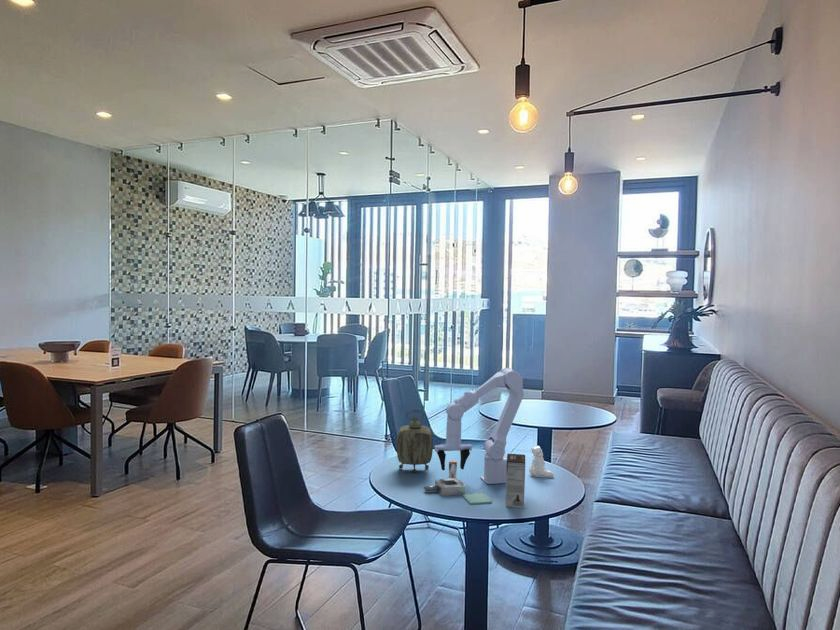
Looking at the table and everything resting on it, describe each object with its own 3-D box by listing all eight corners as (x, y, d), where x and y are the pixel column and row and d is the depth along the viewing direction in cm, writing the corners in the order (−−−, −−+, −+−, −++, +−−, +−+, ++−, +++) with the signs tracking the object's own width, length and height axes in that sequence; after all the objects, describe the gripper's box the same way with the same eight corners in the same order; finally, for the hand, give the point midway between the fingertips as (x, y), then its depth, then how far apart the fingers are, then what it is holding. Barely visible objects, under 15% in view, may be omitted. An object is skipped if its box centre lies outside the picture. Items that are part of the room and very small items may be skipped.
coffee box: (505, 497, 195) (507, 452, 194) (523, 498, 193) (525, 454, 193) (505, 506, 186) (506, 460, 185) (524, 508, 184) (525, 461, 184)
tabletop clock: (431, 467, 226) (432, 408, 225) (432, 475, 217) (434, 412, 216) (396, 467, 225) (397, 407, 224) (396, 474, 216) (397, 412, 215)
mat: (483, 494, 196) (484, 493, 196) (492, 503, 189) (492, 501, 189) (462, 496, 194) (462, 494, 194) (470, 504, 187) (470, 502, 187)
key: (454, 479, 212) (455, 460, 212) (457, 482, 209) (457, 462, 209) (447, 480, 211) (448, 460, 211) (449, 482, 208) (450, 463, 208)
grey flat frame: (457, 485, 205) (458, 478, 205) (465, 494, 196) (465, 486, 196) (421, 487, 202) (422, 480, 202) (428, 496, 193) (428, 488, 193)
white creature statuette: (555, 477, 218) (556, 448, 217) (537, 480, 214) (538, 450, 213) (540, 470, 226) (541, 442, 226) (523, 473, 222) (524, 444, 222)
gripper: (468, 431, 215) (467, 465, 216) (432, 432, 212) (431, 466, 212) (474, 435, 208) (472, 470, 209) (437, 436, 205) (436, 472, 205)
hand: (452, 469), depth 210 cm, fingers open, 7 cm apart
